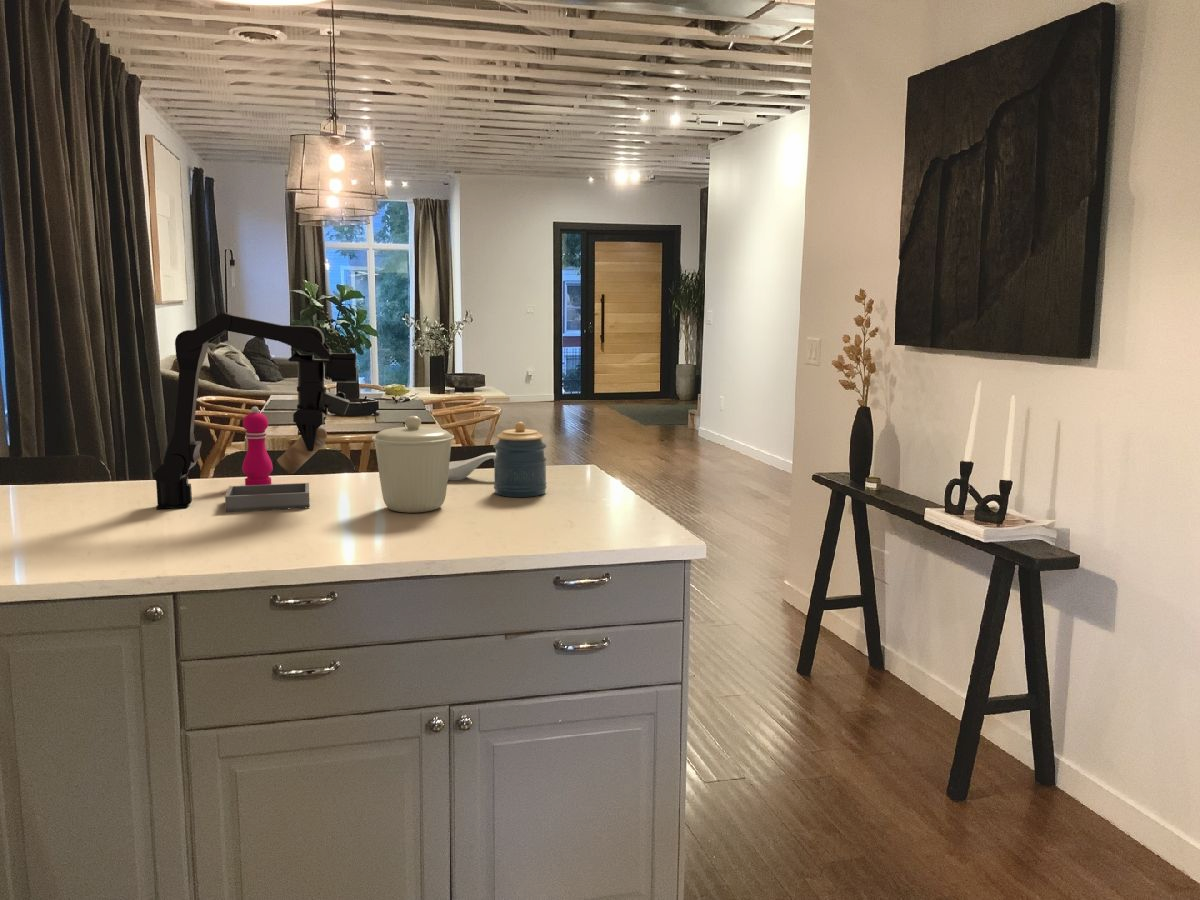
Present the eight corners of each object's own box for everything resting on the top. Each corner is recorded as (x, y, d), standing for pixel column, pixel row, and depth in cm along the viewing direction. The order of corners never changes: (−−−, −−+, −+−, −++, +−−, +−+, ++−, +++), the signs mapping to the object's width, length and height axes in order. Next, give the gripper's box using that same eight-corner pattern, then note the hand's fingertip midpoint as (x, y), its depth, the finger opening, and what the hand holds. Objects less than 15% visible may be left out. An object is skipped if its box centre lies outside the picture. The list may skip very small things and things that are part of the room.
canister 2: (550, 488, 237) (550, 419, 235) (542, 498, 225) (542, 425, 222) (499, 487, 239) (499, 418, 236) (488, 497, 226) (488, 424, 223)
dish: (225, 512, 206) (225, 496, 206) (230, 501, 218) (229, 486, 218) (309, 508, 211) (309, 492, 211) (309, 497, 223) (308, 482, 223)
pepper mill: (267, 488, 234) (263, 408, 231) (238, 487, 234) (234, 407, 231) (277, 482, 241) (274, 405, 238) (249, 482, 242) (246, 404, 239)
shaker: (276, 462, 212) (316, 423, 213) (277, 457, 217) (316, 419, 218) (292, 476, 214) (332, 438, 215) (293, 471, 219) (332, 434, 219)
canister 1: (437, 519, 202) (436, 421, 199) (359, 514, 205) (356, 419, 202) (466, 502, 219) (465, 412, 216) (393, 498, 223) (391, 410, 220)
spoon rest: (424, 482, 245) (424, 455, 244) (435, 474, 257) (434, 448, 256) (514, 484, 244) (514, 457, 243) (521, 476, 255) (521, 450, 254)
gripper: (345, 385, 207) (345, 455, 209) (349, 379, 225) (349, 444, 227) (292, 384, 204) (293, 455, 207) (300, 378, 222) (301, 443, 225)
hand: (311, 449), depth 216 cm, fingers closed on shaker, 5 cm apart
